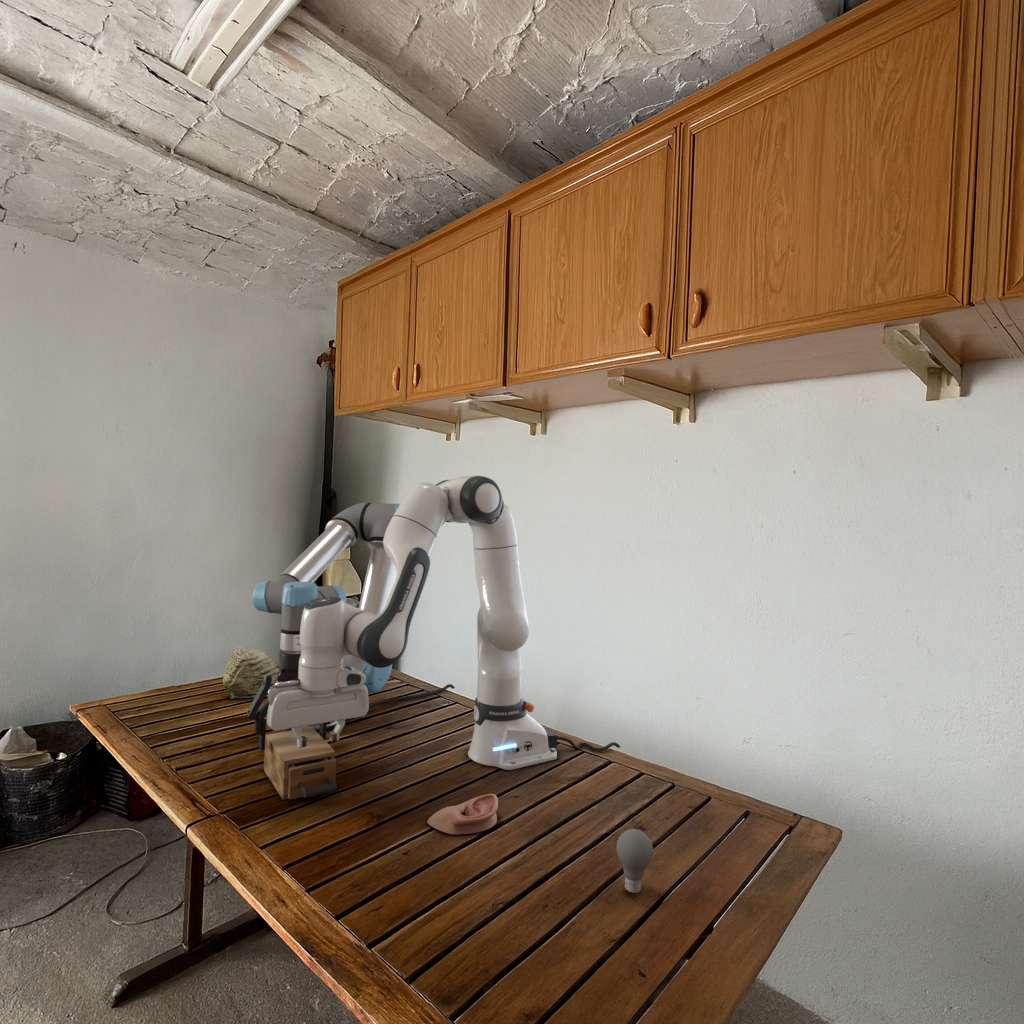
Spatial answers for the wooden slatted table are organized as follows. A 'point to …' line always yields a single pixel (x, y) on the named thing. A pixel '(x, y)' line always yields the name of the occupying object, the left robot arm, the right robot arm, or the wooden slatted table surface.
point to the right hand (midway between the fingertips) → (318, 743)
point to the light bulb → (634, 857)
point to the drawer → (312, 778)
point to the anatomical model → (467, 816)
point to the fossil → (247, 672)
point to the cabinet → (291, 755)
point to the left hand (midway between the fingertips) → (292, 743)
